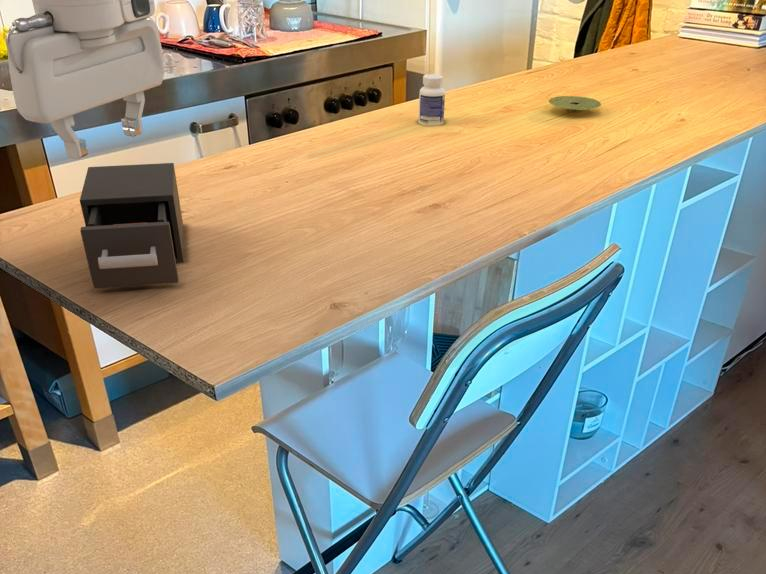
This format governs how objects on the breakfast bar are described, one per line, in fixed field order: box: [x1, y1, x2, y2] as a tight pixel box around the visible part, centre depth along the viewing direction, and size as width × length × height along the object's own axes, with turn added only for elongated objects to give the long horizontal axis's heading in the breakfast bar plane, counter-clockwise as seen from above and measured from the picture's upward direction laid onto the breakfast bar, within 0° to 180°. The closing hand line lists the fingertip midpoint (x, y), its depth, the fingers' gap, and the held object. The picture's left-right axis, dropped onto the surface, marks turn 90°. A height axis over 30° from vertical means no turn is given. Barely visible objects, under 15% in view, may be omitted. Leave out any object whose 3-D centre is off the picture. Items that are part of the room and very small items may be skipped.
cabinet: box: [79, 162, 185, 264], centre depth 116 cm, size 14×12×10 cm
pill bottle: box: [418, 73, 446, 127], centre depth 166 cm, size 5×5×9 cm
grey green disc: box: [548, 95, 602, 113], centre depth 177 cm, size 11×11×2 cm
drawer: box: [79, 201, 179, 289], centre depth 108 cm, size 17×11×8 cm, turn 11°
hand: (106, 145), depth 93 cm, fingers open, 8 cm apart
